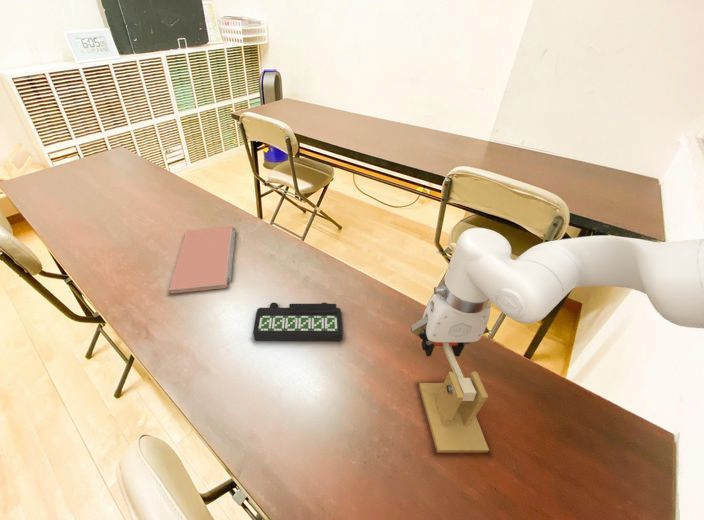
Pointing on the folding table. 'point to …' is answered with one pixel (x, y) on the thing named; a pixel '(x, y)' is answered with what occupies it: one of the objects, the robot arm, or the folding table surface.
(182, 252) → the notebook
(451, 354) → the lever
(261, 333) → the digital display
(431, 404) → the bracket
